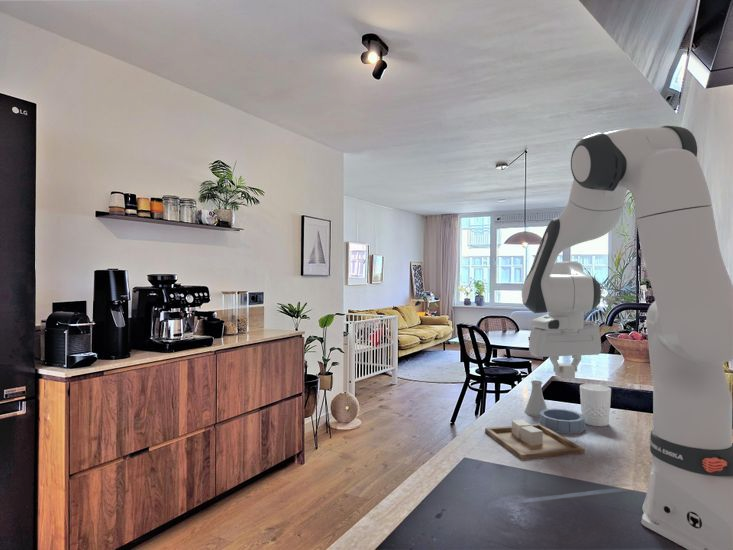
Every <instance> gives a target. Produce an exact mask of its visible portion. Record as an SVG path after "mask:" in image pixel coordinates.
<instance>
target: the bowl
mask: <svg viewBox="0 0 733 550" xmlns="http://www.w3.org/2000/svg"><path fill="white" fill-rule="evenodd" d="M539 424H541V425H543V426H545V427H547V428H548V429H550V430H552V431H554V432H555V433H562V434H577V433H578V434H579V433H582V432H583V431H585V423H584V416H583V415H582V413H580V412H577V411H573V410H569V409H565V408H564V409H563V408H547V409H544V410H542V411H540V416H539Z"/></svg>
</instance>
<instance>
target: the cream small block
mask: <svg viewBox="0 0 733 550" xmlns="http://www.w3.org/2000/svg"><path fill="white" fill-rule="evenodd" d="M531 425H532V424H530V423H528V422H527V421H526V420H524V419H513V420H512V419H511V426H512V433H513V434H514V435H515V436H517V437H518V438H521V427H527V426H531Z"/></svg>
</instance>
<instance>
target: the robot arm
mask: <svg viewBox="0 0 733 550" xmlns="http://www.w3.org/2000/svg"><path fill="white" fill-rule="evenodd" d="M573 148H574V149H573V150H572V153H571V155H570V156H571V157H570V171H571V174H572V177H573V181H572V184H571V189H570V193H569V197H568V201H567V204H566V205H565V208H564V209H563V211H561V213H560V214H559V215H558V216H557V217H555V218H553V219H551V220H550V221H549V223H548V224H547V226H546V229H545V231H544V233H543V236H542V238H541V241H540V243H539V245H538V249H537V252H536V254H535V256H534V257H535V258H534V260H533V261H532V265H531V268H530V270H529V273H528V274H527V275H526V278H525V279H524V283H523V285H522V288H521V300H522V304H523V305H524V306H525V307H526V308H527V309H528V310H529V311H530V312H532V313H534V314H542V313H545V314H544V315H542V316H539V317H536V318H532V320H531V327H533V328H532V329H531V330H530V332H529V333H530V334H529V340H528V348H529V349H528V351H529V353H530V354H531V355H532V356H534V357H536V358H543V357H544V358H546V357H547V358H548V357H549V360H550V362H551V364H552V366H553V373H555V372H556V373H560V372H562V366H560V365H559V362H558V361H559V360H560V357H571V358H572V362H571V363H569V364H570V365H573V366H575V373H576V372H578V366H579V364H580V362H581V361H582V356H596V355H597V356H598V355H600V354H601V352H602V341H601V340H602V339H601V333H600V329H601V328H600V325H599V323H597V322H596V321H595V320H584V319H585V314H584V313H587V312H592V311H593V310H595V309H596V308H597V307H598V306H599V305H600V303H601V299H602V298H601V295H602V294H601V284H600V282H598V280H597V279H596V277H595V278H594V277H593V276H592V275H588V274H586V273H585V272H584V269H583V265H582V263H580V262H579V261H577V262H576V261H560V262H559V261H558V262H556V261H557V259H558V256H559V255H560V254H561V253H562V252H563V251H565V250H567V249H568V248H571V247H573V246H575V245H578V244H582V243H586V242H588V241H594V240H596V239H599V238H601V237H603V236H605V235H607V234H608V233H610V232H611V231H612V230H614V228H615V227H616V226H617V224H618V223H619V220H620V217H621V215H622V213H623V212H622V211H623V208H624V205H625V200H626V195H627V191H630V193H631V195H632V197H633V204H634V213H635V219H636V221H635V222H636V227H637V232H638V238H639V245H640V246H639V247H640V251H641V256H642V257H641V258H642V263H643V266H644V268H645V271H646V274H647V277H648V279H649V283H650V286H651V290H652V293H653V296H654V301H653V302H651V304H650V305H649V307H648V309H647V312H646V317H645V318H646V319H645V320H646V321H645V322H646V331H647V332H646V333H647V334H646V335H647V345H648V356H649V357H648V358H649V364H650V365H649V366H650V372H651V379H652V399H653V400H652V402H653V403H652V406H653V407H652V411H653V413H652V418H653V419H652V420H653V421H652V425H653V426H652V427H653V429H651V431H650V434H649V435H650V438H649V452H650V453H651V454H652V455H651V457H652V460H651V465H650V471H649V475H648V483H647V490H646V493H645V494H646V495H645V498H644V502H643V504H642V512H643V513H642V515H641V521H640V522H641V524H642V526H644V527H645V528H648V529H649V530H651V531H653V532H655V533H656V534H658V535H661V536H662V537H664V538H666V539H668V540H670V541H672V542H674V543H675V544H677V545H679V546H681V547H683V548H685V549H686V550H733V395H732V392H731V390H730V388H729V384H728V380H727V377H726V371H725V369H724V368H725V367H724V363H729V362H731V361H733V282H732V280H731V278H730V275H729V272H728V270H727V268H726V265H725V262H724V260H723V257H722V253H721V248H720V243H719V238H718V232H717V227H716V221H715V220H716V219H715V214H714V210H713V204H712V198H711V195H710V191H709V190H710V189H709V187H708V184H707V180H706V176H705V175H704V172H703V169H702V167H701V164H700V162H699V159H698V157H697V156H698V145H697V141H696V137H695V136H694V135H693V133H692V132H691V130H690V129H688V128H686V127H682V126H676V125H663V126H660V127H658V126H654V127H653V126H651V127H638V128H637V127H628V128H622V129H616V130H613V131H612V130H611V131H608V132H596V133H593V134H591V135H587V136H585V137H583V138H582V139H579V141H578V142H577V143H576V145H575V146H574V147H573Z"/></svg>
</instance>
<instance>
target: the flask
mask: <svg viewBox="0 0 733 550" xmlns="http://www.w3.org/2000/svg"><path fill="white" fill-rule="evenodd" d="M530 384H531V392H530V394H529V395H530V396H529V399H528V402H527V403H526V404H527V405H526V408H525V410H524V413H525V414H526V415H528V416H533V417H540V411H542V410H544V409H548V406H547V404H546V401H545V399H544V396H543V395H544V394H543V390H542V384H543V381H542V380H538V379H535V380H533V379H532V380H531V381H530Z"/></svg>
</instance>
